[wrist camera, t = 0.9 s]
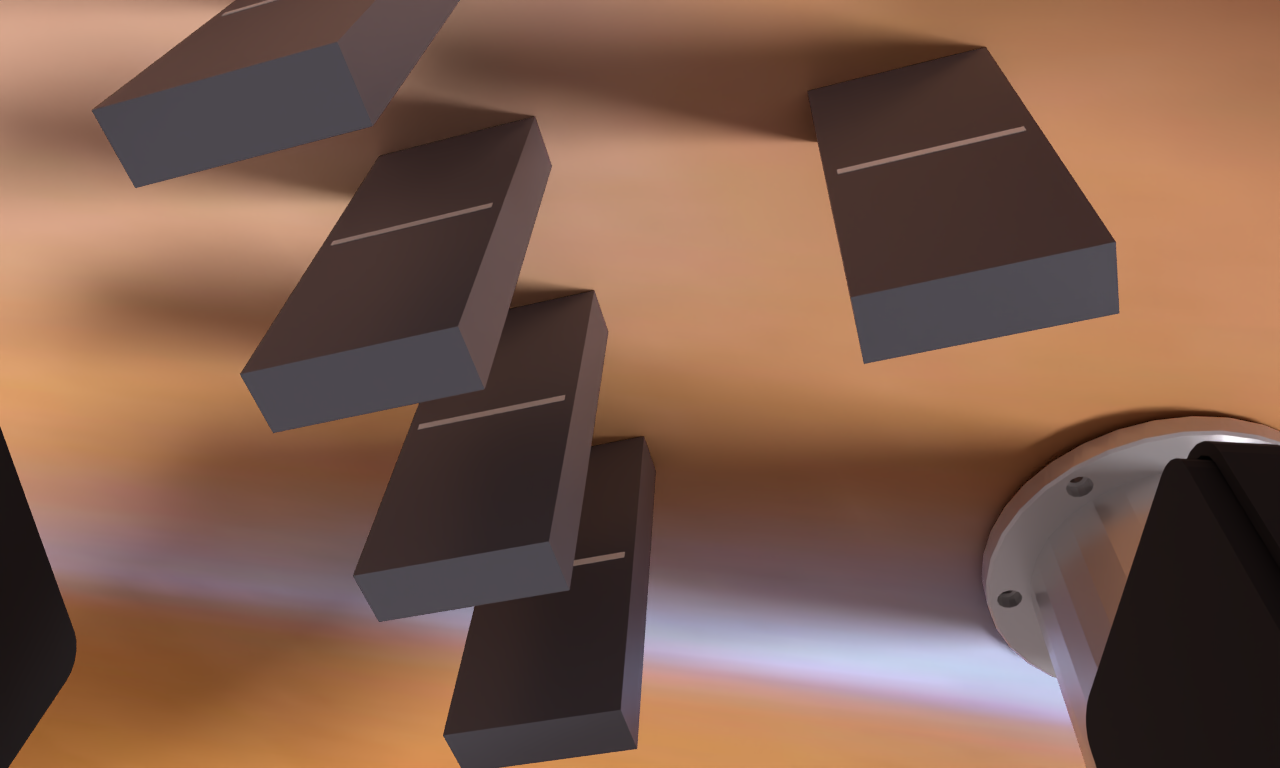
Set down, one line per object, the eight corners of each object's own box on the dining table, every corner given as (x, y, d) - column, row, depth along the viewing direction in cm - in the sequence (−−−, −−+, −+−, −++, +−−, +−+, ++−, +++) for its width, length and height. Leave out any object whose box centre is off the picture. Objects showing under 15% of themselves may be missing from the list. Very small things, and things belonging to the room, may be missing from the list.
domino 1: (293, -45, 31) (91, 109, 21) (463, -96, 30) (336, 40, 20) (318, 13, 31) (136, 188, 21) (484, -34, 30) (373, 127, 20)
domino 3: (449, 321, 37) (352, 575, 27) (594, 289, 36) (548, 540, 26) (467, 362, 38) (379, 622, 28) (608, 332, 37) (569, 591, 27)
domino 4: (509, 461, 40) (442, 734, 30) (643, 435, 39) (620, 709, 29) (524, 496, 41) (464, 772, 31) (655, 471, 40) (637, 749, 30)
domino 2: (378, 155, 34) (239, 373, 24) (534, 115, 33) (457, 325, 23) (399, 203, 35) (273, 433, 25) (552, 166, 34) (485, 390, 24)
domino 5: (807, 90, 32) (850, 296, 22) (985, 46, 31) (1115, 241, 21) (817, 143, 33) (864, 364, 23) (991, 101, 32) (1119, 314, 22)
